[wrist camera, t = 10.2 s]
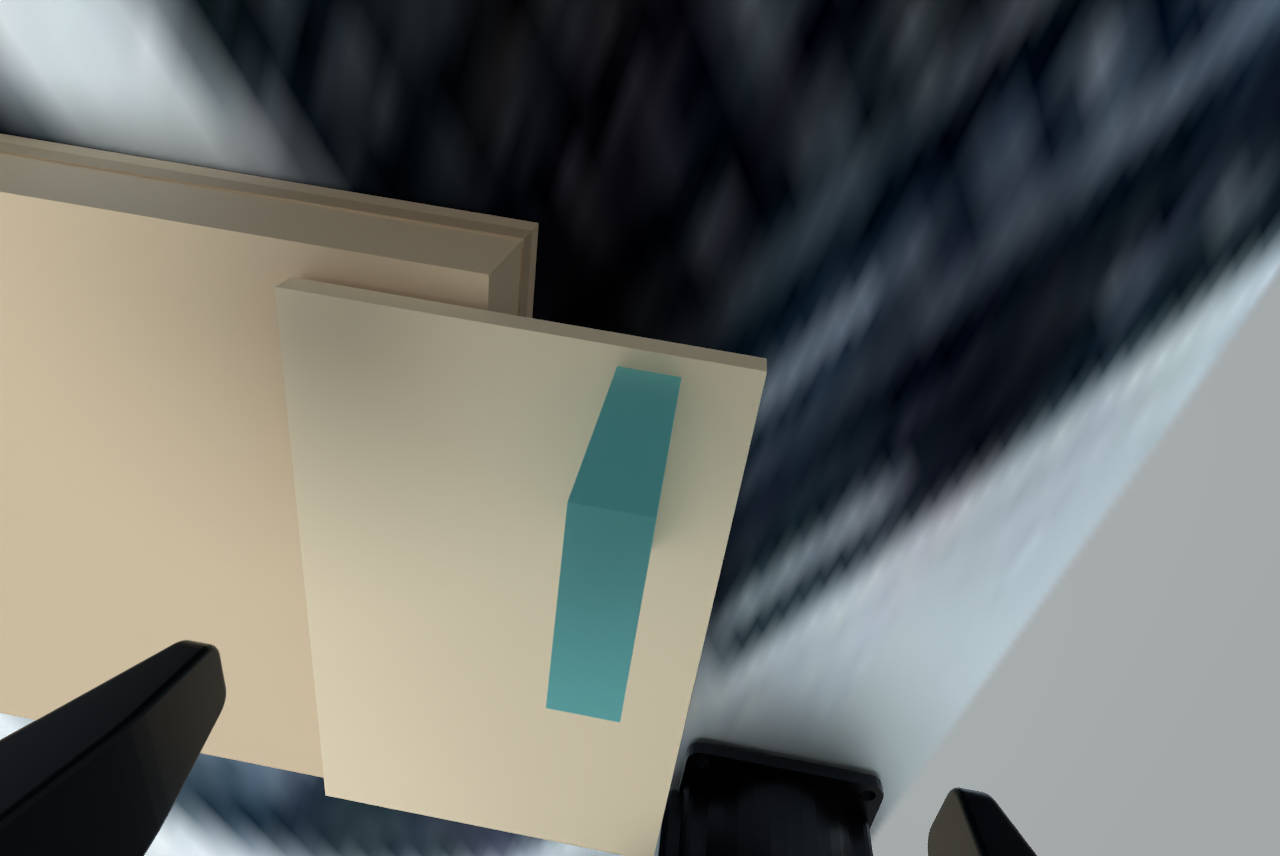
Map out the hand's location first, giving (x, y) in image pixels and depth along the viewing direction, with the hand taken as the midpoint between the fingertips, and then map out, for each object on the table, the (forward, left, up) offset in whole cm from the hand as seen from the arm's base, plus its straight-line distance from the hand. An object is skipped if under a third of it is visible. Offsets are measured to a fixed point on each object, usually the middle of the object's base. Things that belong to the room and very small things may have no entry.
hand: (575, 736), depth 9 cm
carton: (+13, +5, -12) cm, 18 cm away
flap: (+3, +5, -7) cm, 9 cm away
